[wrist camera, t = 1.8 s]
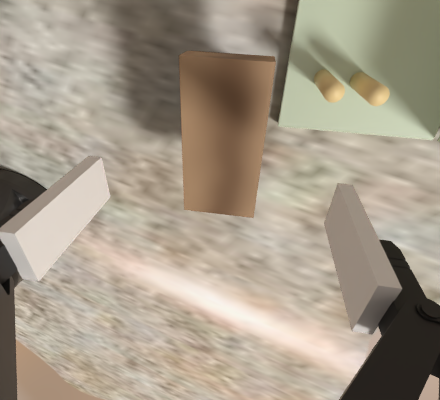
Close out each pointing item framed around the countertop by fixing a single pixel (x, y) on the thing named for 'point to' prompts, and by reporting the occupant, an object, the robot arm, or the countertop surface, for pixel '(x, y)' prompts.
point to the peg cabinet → (364, 68)
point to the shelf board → (223, 129)
